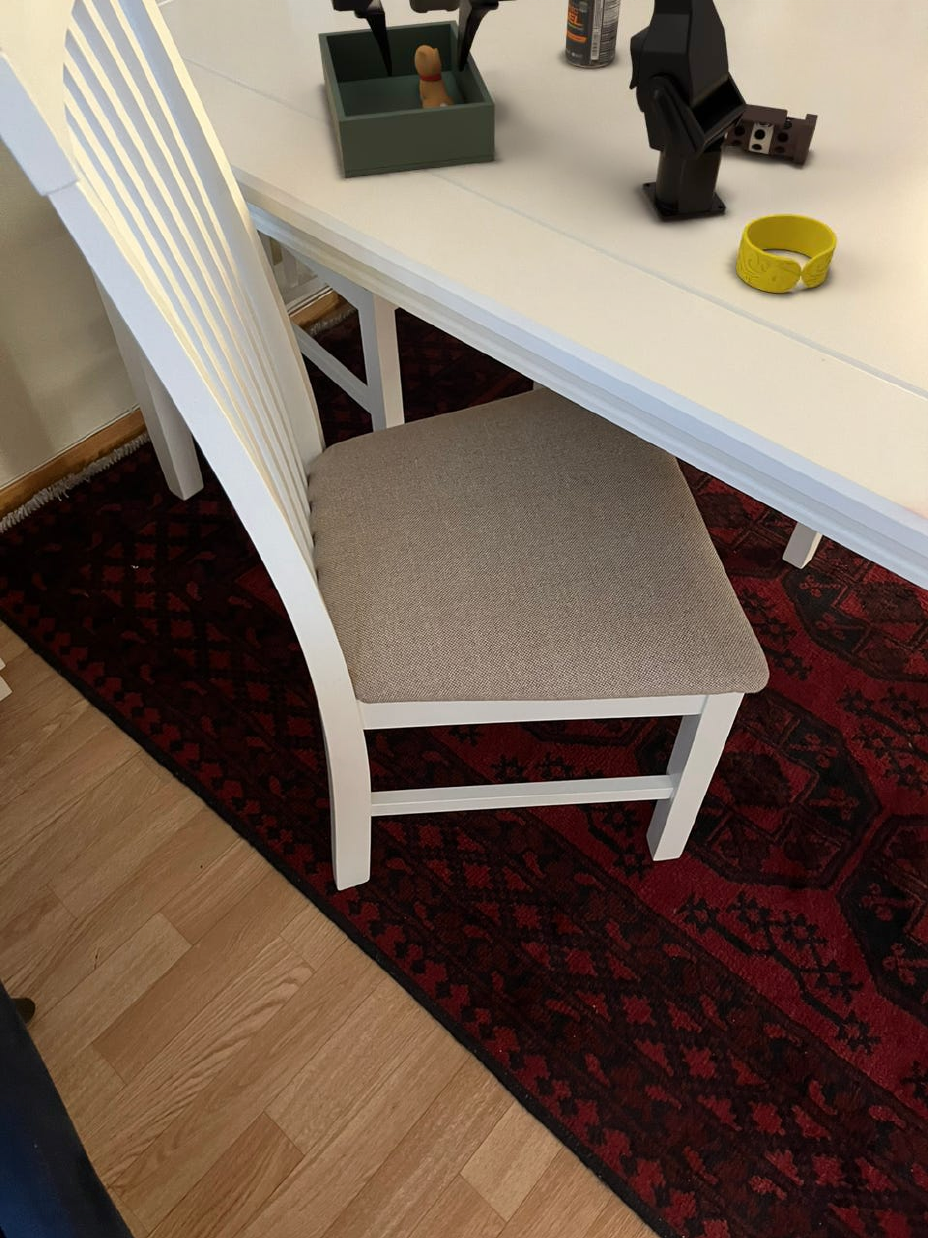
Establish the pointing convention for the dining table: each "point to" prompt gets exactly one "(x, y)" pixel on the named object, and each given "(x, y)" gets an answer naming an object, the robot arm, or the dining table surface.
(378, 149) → the green storage tray
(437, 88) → the toy
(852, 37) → the dining table surface
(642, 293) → the dining table surface
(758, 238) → the bracelet
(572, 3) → the pill bottle
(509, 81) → the dining table surface
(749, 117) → the brown bracket with holes
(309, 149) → the dining table surface
